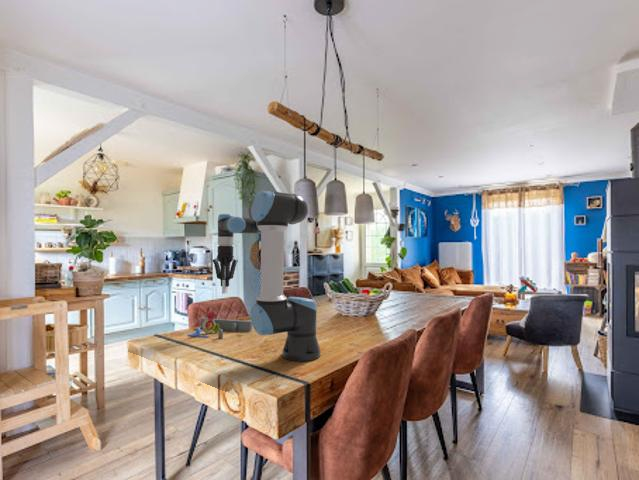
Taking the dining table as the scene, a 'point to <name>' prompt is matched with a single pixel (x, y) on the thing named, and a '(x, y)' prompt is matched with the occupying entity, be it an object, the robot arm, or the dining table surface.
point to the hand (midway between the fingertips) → (224, 293)
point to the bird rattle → (208, 325)
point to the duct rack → (226, 327)
